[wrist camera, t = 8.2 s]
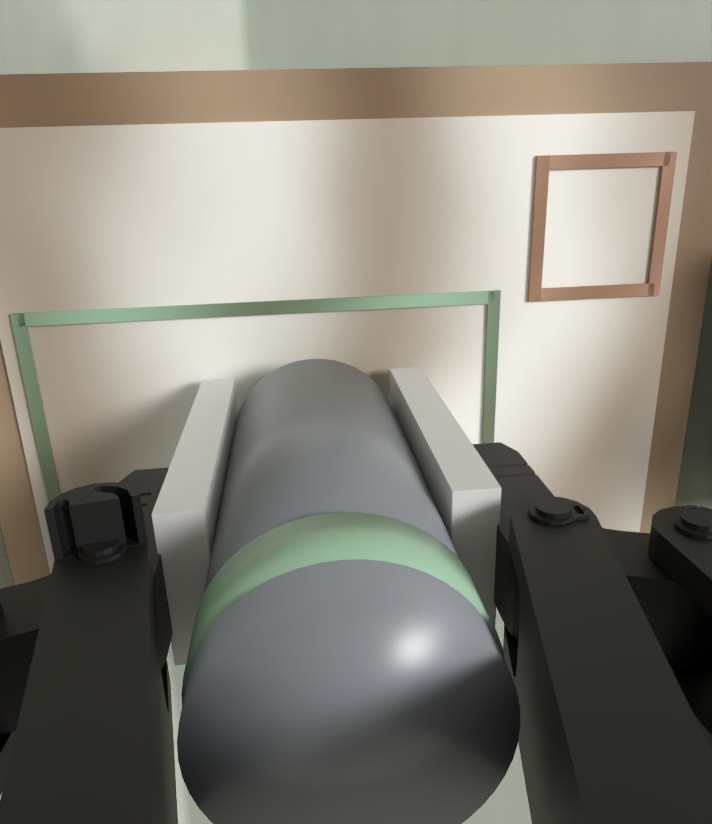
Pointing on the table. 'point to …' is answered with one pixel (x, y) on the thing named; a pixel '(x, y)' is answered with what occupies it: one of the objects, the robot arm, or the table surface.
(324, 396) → the marker
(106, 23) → the table surface
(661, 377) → the framed board
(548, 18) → the table surface
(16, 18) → the table surface
